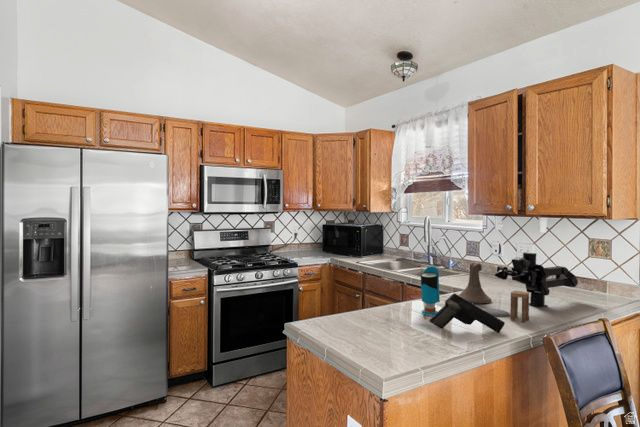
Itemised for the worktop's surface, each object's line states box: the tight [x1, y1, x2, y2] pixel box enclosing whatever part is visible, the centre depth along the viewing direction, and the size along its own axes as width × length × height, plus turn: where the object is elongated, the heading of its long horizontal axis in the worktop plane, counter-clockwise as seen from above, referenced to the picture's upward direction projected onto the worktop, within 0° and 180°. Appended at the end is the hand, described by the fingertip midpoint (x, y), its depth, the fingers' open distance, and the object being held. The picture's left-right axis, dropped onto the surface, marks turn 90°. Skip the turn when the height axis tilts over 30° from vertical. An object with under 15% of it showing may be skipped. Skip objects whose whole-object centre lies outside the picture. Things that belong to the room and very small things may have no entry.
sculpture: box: [457, 261, 492, 305], centre depth 196 cm, size 17×17×20 cm
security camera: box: [420, 266, 441, 316], centre depth 171 cm, size 8×21×10 cm
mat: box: [483, 308, 510, 318], centre depth 172 cm, size 11×11×1 cm
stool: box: [509, 289, 530, 323], centre depth 162 cm, size 6×6×12 cm
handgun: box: [428, 293, 506, 334], centre depth 149 cm, size 2×24×15 cm, turn 78°
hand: (503, 276), depth 175 cm, fingers open, 9 cm apart
